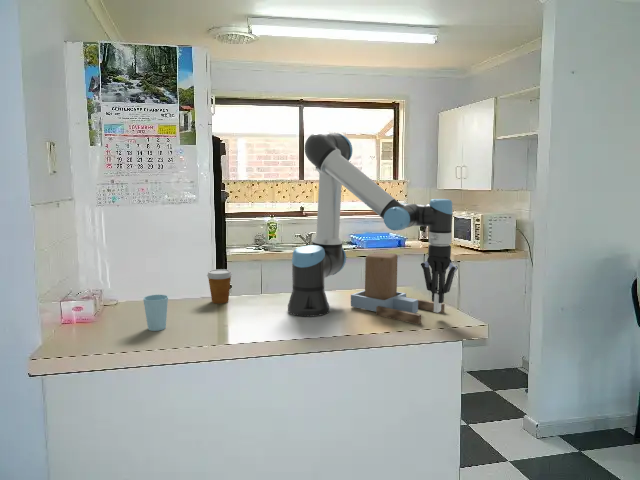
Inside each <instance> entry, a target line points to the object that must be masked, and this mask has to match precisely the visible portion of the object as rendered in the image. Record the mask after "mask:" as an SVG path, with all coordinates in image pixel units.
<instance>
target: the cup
mask: <svg viewBox="0 0 640 480" xmlns="http://www.w3.org/2000/svg"><path fill="white" fill-rule="evenodd" d="M168 303H169V296H168V295H166V294H151V295H146V296H144V297H143V305H144V312H145V319H146V325H147V329H148V330H149V331H150V332H151V331H152V332H158V331H163V330H165V329H166V327H167V318H168V317H167V316H168V314H167V313H168V306H169V305H168Z"/></svg>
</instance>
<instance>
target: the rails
mask: <svg viewBox="0 0 640 480" xmlns="http://www.w3.org/2000/svg"><path fill="white" fill-rule="evenodd" d="M406 298H412V299H417V300H418V309H421V310H426V311H430V312H431V311H432V312H434V302H432V300H426V299H420V298H414V297H409V296H406ZM445 307H446V306H445V303H441V311H440V312H439V313H442V314H443V313H445ZM375 314H376V316H379V317H383V318H388V319H393V320H397V321H402V322H407V323H411V324H417V325H421V324H422V314H421V313H417V312H416V313H411V312H406V311H401V310H396V309H391V308H386V307H381V306H377V307H376V312H375Z"/></svg>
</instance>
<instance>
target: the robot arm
mask: <svg viewBox="0 0 640 480" xmlns="http://www.w3.org/2000/svg"><path fill="white" fill-rule="evenodd" d="M304 154H305V157H306V159H308V160H309V162H310V163H311V164H312V165H313V166H315V170H316V172H318V174H319V176H318V177H319V178H318V197H317V217H316V218H317V219H316V222H317V223H316V235H315V236H316V237H314V238H313V239H312V241H311V244H309V245H302V246H299V247H297V248H295V249H294V250H293V252H292V257H291V263H292V264H291V265H292V268H291V269H292V270H291V272H292V290H291V293H290V298H289V301H288V304H287V312H288V313H289V314H291V315H293V316H299V317H317V316H323V315H326V314H328V313H329V312H330V303H329V302H328V298H327V295H326V291H325V279H326V278H328V277H331V276H334V275H336V274H338V273H339V272H340V271H342V270H343V268H344V266H345V265H346V263H347V262H346V261H347V254H346V251H345V250H344V248H343V241H342V240H341V238H340V223H341V222H340V221H341V220H340V219H341V206H342V205H341V204H342V203H341V202H342V188H343V187H344V188H345V189H347V190H348V191H349V192H350V193H351V194H353V196H355V197H356V198H358V199H359V200H360V201H361V202H362V203H363V204H365V205H366V206H367V207H368V208H370V210H372V211H373V212H374V213H376V214H377V215H378V216H379V217H380V218H381V219H383V223H384V224H385V227H386V228H388V229H389V230H391V231H402V230H405V229H406V228H407V229H408V228H410V227H413V226H414V227H428V228H429V229H428V243H429V244H428V247H427V249H428V252H427V253H428V256H427V259H426V261H424V262H421V263H420V266H421V268H422V270H423V276H424V281H425V285H426V290H427V291H430V293H431V302H434V311H433V312H434V313H437V314H438V313H440V311H441V303H442V304H444V301H445V300H444V299H445V294H447V293H449V292H450V291H451V287H452V284H453V280H454V277H455V273H456V272H457V270H458V269H459V267H458V266H457V265H454V264H453V263H452V259H451V257H452V246H451V244H452V232H453V231H452V229H453V228H452V227H453V214H454V212H453V202H452V200H451V199H448V198H433V199H432V198H431V199H430V201H429V204H420V203H419V204H418V203H408V202H407V203H405V202H404V203H400V202H399V201H398V200H397V199H396V198H394V197H393V196H392V195H391V194H390V193H388V192H387V191H386V190H384V188H382V187H381V186H380V185H378V184H377V183H376V182H375V181H374V180H372V178H371V177H369V176H367V174H365V173H364V172H363V171H362V170H360V169H359V168H358V167H356V166H355V165H354V164H353V163H352V162H351V161H350V160H351V159H352V155H353V145H352V142H351V140H349V138H348V137H347V136H346V135H344V134H342V133H339V132H329V131H316V132H313V133H311V134H310V135H309V136H308V138H306V140H305V144H304ZM342 186H343V187H342ZM430 268H431V269H430ZM447 270H448V272H447ZM446 273H447V277H446Z"/></svg>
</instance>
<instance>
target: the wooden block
mask: <svg viewBox="0 0 640 480" xmlns="http://www.w3.org/2000/svg"><path fill="white" fill-rule="evenodd" d="M364 266H365V268H364V269H365V271H364V274H365V275H364V279H365V280H364V290H365V297H370V298H375V299H380V300H386V299H389V298H392V297H394V296H397V292H398V291H397V289H398V254H397V253H389V252H372V253H370V254H368V255H366V256H365V265H364Z"/></svg>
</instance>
